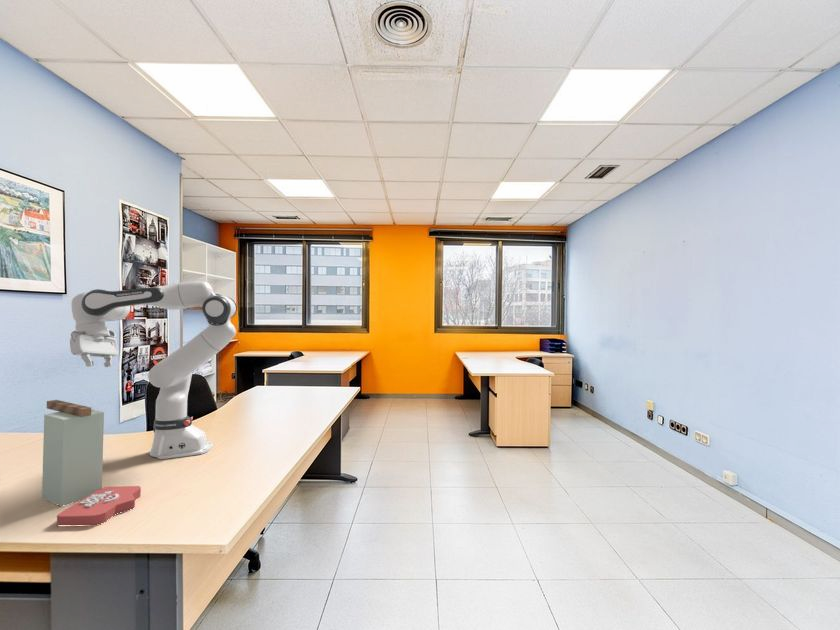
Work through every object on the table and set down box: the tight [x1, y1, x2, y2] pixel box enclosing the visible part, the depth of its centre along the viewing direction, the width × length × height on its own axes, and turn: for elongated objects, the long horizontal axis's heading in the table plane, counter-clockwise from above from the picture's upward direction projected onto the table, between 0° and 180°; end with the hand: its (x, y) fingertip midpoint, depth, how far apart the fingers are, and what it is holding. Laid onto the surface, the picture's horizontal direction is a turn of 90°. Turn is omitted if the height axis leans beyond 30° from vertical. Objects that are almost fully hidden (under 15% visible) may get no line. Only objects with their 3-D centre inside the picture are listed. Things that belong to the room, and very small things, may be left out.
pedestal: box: [41, 408, 105, 507], centre depth 116 cm, size 12×10×26 cm
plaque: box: [56, 485, 142, 526], centre depth 109 cm, size 18×4×15 cm
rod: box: [46, 399, 92, 417], centre depth 118 cm, size 22×2×2 cm, turn 66°
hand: (99, 366), depth 144 cm, fingers open, 8 cm apart
